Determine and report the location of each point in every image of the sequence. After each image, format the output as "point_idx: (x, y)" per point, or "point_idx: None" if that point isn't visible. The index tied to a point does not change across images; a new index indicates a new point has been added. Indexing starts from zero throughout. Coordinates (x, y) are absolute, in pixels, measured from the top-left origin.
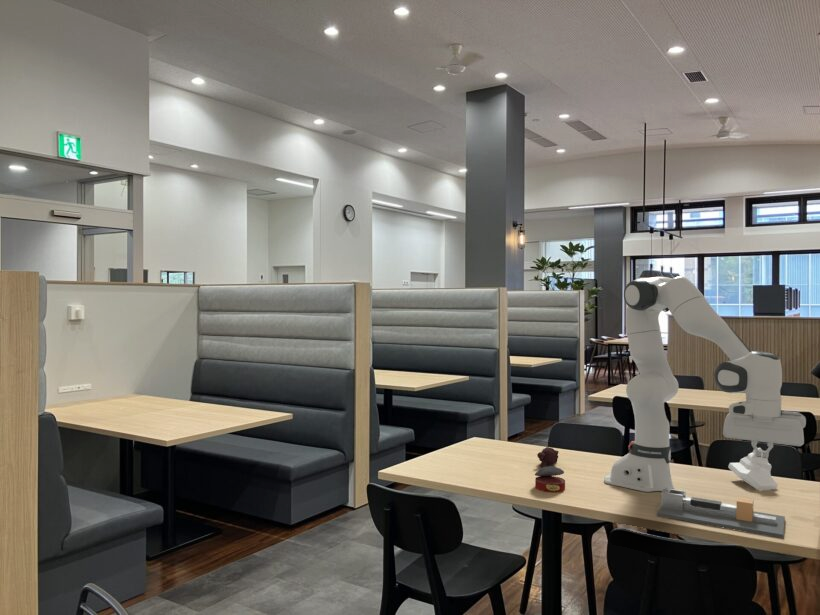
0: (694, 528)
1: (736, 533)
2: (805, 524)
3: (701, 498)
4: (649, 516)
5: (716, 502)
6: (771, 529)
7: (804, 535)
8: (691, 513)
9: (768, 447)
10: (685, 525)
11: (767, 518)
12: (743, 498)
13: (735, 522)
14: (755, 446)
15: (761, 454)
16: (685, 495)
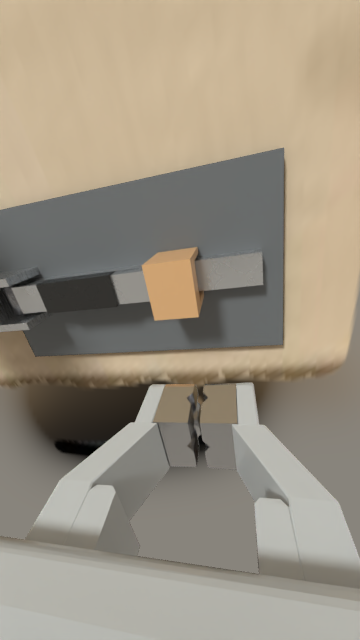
0: (120, 379)
1: (189, 363)
2: (351, 151)
3: (58, 283)
4: (34, 361)
5: (102, 295)
6: (254, 323)
7: (335, 282)
8: (78, 318)
9: (261, 463)
10: (101, 372)
11: (241, 286)
12: (161, 275)
13: (172, 322)
14: (134, 510)
15: (194, 398)
16: (16, 276)
